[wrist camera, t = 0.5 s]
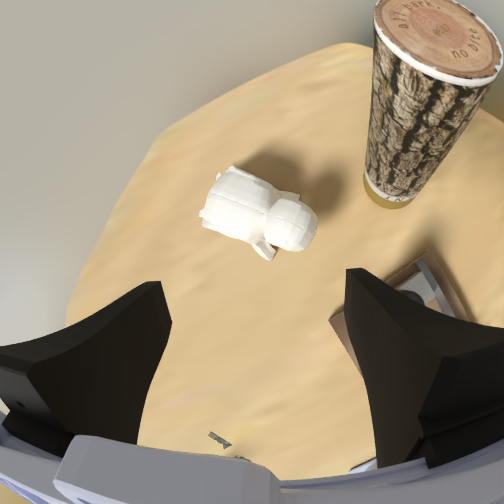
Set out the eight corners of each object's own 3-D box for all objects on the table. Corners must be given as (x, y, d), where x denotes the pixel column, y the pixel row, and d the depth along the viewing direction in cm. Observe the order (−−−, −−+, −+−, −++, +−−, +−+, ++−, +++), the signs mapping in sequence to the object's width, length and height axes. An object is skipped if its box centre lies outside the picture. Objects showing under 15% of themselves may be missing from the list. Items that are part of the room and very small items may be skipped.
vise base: (487, 370, 26) (504, 382, 21) (396, 433, 29) (402, 453, 24) (427, 250, 30) (440, 245, 25) (329, 318, 33) (326, 325, 28)
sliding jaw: (430, 296, 28) (451, 300, 21) (370, 338, 30) (377, 353, 23) (414, 270, 29) (432, 267, 22) (355, 311, 31) (357, 320, 24)
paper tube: (351, 176, 34) (343, 11, 10) (392, 147, 32) (425, -20, 9) (386, 222, 32) (457, 103, 8) (427, 190, 31) (522, 55, 7)
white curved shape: (225, 238, 41) (314, 282, 32) (177, 219, 35) (270, 267, 25) (251, 181, 41) (346, 210, 31) (208, 154, 34) (312, 175, 25)
